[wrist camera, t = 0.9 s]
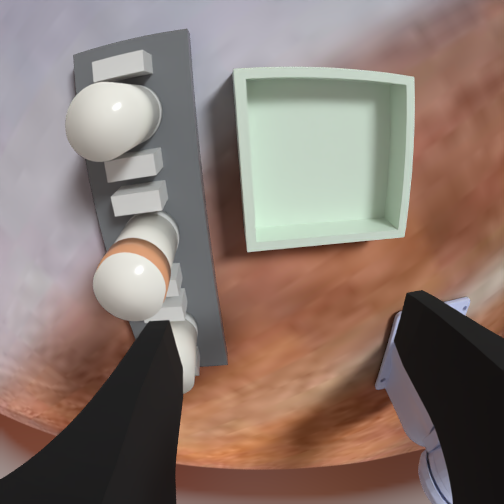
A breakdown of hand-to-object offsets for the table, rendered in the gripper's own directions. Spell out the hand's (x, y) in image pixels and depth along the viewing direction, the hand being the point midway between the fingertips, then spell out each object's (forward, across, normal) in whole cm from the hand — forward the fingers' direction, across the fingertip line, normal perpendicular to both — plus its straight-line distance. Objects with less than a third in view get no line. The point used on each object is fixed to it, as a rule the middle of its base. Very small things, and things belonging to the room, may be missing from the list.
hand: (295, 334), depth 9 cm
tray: (+10, -4, -3) cm, 11 cm away
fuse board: (+10, +6, 0) cm, 12 cm away
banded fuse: (+9, +6, 0) cm, 11 cm away
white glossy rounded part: (+9, +6, -6) cm, 12 cm away
